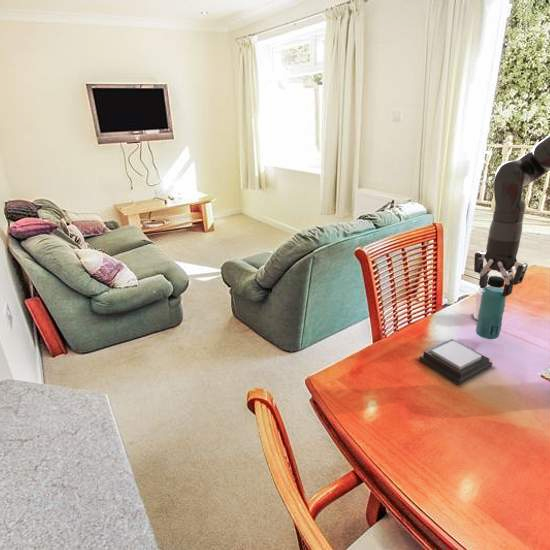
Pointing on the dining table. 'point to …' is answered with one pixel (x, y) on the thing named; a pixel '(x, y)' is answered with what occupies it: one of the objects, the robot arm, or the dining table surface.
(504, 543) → the dining table surface
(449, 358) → the pan
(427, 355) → the scale
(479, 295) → the white cup
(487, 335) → the beverage bottle
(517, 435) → the dining table surface
